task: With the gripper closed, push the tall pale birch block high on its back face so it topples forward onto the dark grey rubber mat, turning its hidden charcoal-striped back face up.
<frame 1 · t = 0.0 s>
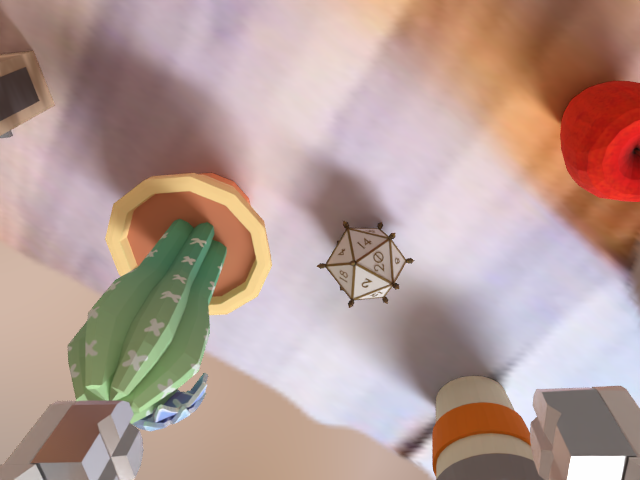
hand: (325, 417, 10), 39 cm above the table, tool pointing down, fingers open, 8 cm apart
game die: (365, 241, 53), on the table
potted cactus: (211, 210, 53), on the table
apple: (590, 114, 45), on the table
birch block: (19, 81, 47), on the table
reusable coffee cup: (470, 398, 65), on the table
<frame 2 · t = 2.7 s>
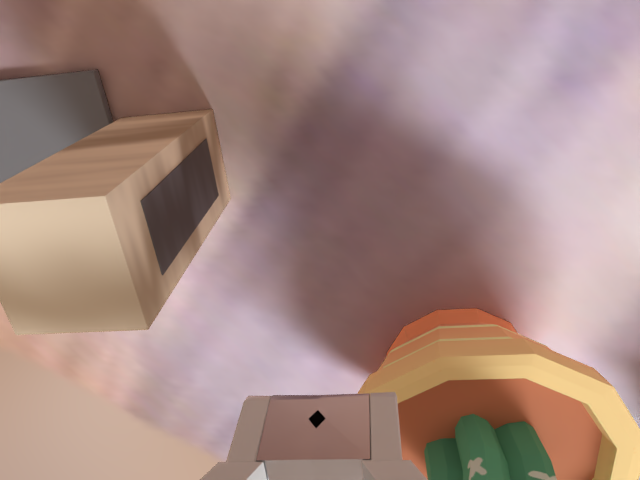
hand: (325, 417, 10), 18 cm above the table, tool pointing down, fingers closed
potted cactus: (455, 363, 32), on the table
birch block: (177, 159, 27), on the table
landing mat: (17, 172, 28), on the table
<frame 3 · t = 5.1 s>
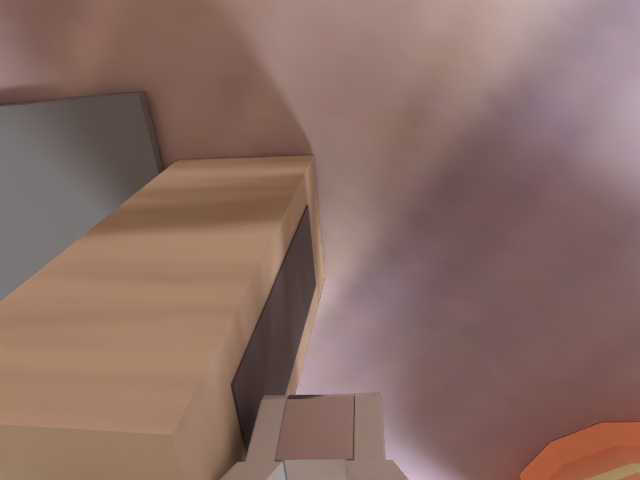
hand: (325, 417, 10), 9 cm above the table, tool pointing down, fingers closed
birch block: (253, 221, 19), on the table, touching gripper
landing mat: (21, 234, 20), on the table
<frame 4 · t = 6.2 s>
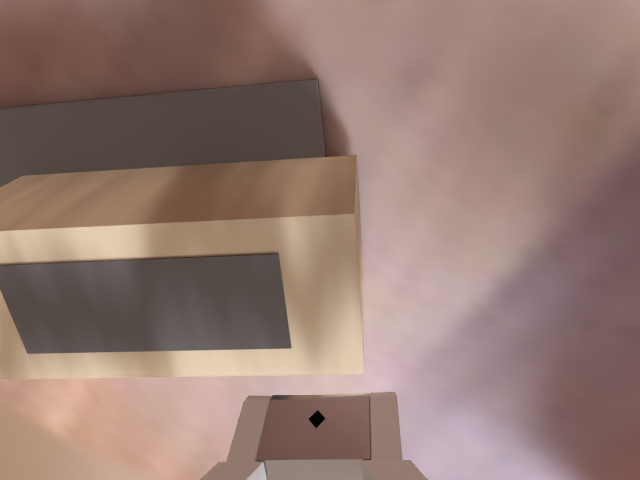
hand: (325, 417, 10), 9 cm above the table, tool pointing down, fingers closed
birch block: (360, 256, 15), point 3 cm above the table, tilted 90°, touching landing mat
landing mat: (162, 230, 19), on the table
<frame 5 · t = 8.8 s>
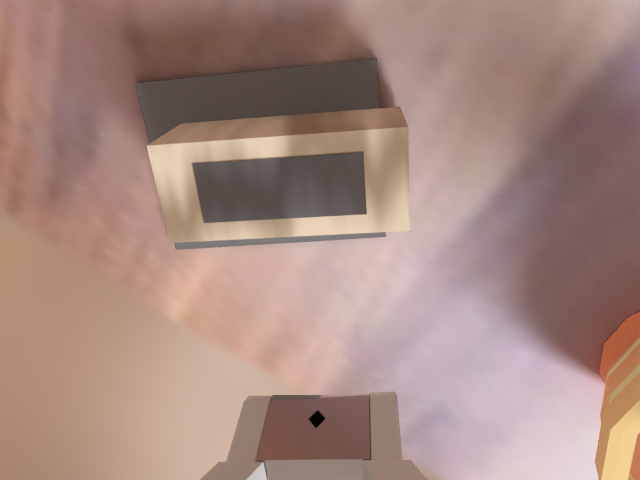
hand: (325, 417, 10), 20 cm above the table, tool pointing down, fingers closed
birch block: (404, 165, 25), point 3 cm above the table, tilted 90°, touching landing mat
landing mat: (267, 161, 29), on the table
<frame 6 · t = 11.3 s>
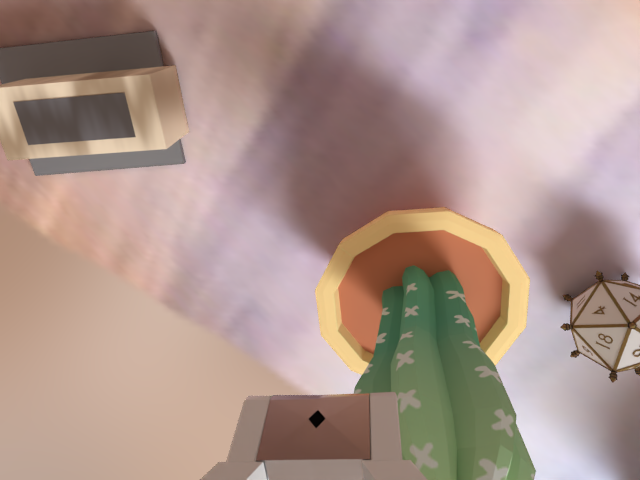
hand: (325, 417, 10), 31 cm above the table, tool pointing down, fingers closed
game die: (597, 296, 44), on the table
potted cactus: (410, 256, 43), on the table
birch block: (171, 105, 36), point 3 cm above the table, tilted 90°, touching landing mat
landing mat: (93, 107, 39), on the table
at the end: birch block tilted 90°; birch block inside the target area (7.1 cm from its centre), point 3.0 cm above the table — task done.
